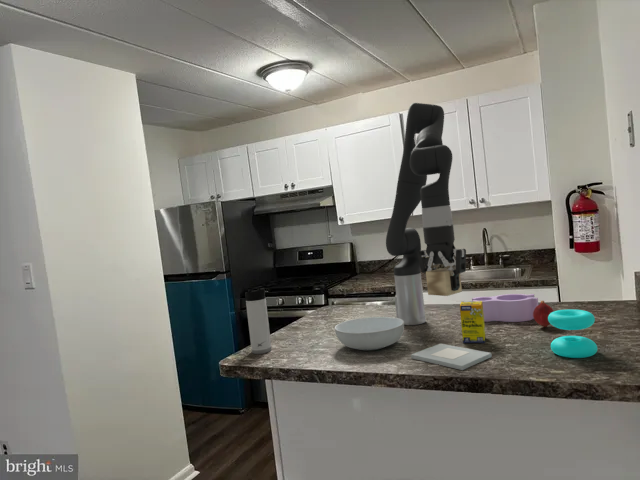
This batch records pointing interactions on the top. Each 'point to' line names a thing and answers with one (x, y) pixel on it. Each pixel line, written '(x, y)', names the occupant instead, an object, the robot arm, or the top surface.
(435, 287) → the block
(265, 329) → the travel mug
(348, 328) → the serving bowl
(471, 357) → the board
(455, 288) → the robot arm
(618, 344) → the top surface
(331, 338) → the top surface
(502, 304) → the purple cup holder
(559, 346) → the donuts
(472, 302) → the supplement box
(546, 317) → the onion
